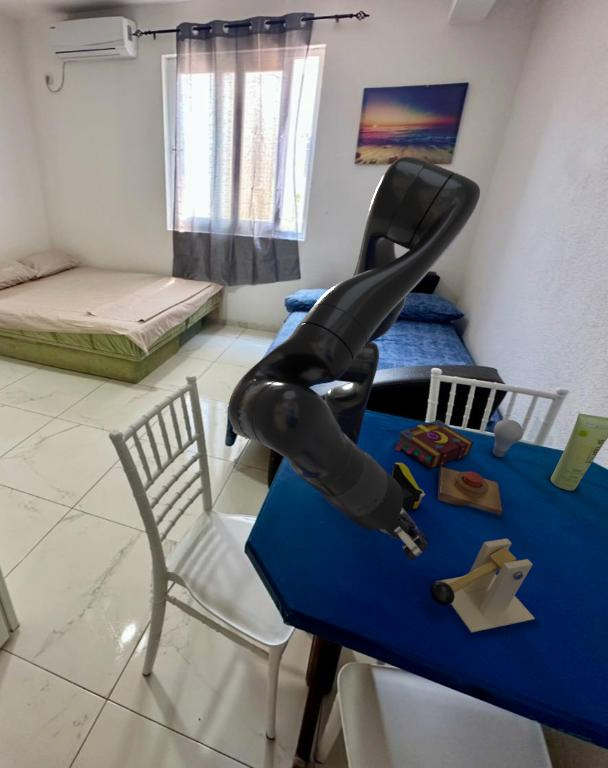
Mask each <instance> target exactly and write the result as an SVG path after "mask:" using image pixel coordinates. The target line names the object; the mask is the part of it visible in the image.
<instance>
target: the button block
mask: <svg viewBox="0 0 608 768" xmlns="http://www.w3.org/2000/svg"><path fill="white" fill-rule="evenodd" d="M466 472H467V471H458V470H455V469H451V468H447V467H444V466H440V467H439V470H438V474H437V500H438V501H441V502H444V503H447V504H451V505H453V506H457V507H465V506H469V507H472V508H474V509H475V508H476V509H478V510H481V511H485V512H488V513H491V514H495V515H498V516H501V515H502V513H503V507H502V500H501V495H500V490H499V483H498V481H494V480H490V479H487V478H483V482H482V484H481V486H480V487H479V488H474V487H471V486H468V485H467V484H465V483H464V482H463V478H464V475H465V473H466Z"/></svg>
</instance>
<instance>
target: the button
mask: <svg viewBox="0 0 608 768" xmlns="http://www.w3.org/2000/svg"><path fill="white" fill-rule="evenodd" d="M465 472H466V473H465V475H464V478H463V482H464V483H465V484H467V485H468V486H471V487H474V488H479V487H480V486H481V484H482V482H483V479H484V478H483V476H482V475H480V474H479V473H478V472H475V471H465Z"/></svg>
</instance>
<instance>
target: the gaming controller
mask: <svg viewBox="0 0 608 768" xmlns="http://www.w3.org/2000/svg"><path fill="white" fill-rule="evenodd" d="M391 476H392V477H393V478H394V479H395V480H396V481H397V482H398V484H399V485H400V487H401V489H402V492H403V506H402V507H403V508H404V510H405V511H406V512H409V511H410V510H413V509H418V507H419V506H420V504H421V502H422V501H423V500H422V499H423V497H424V496H426V493H425V492H424V490H423V489H421V488H420V487H419V486H418V483H417V482H416V480H415V478H414V476H413V474H412V473H411V471H410V468H409V467H408V466H407V465H406V464H404V463H403V462H395V463H394V464H393V466H392V474H391Z"/></svg>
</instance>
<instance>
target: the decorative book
mask: <svg viewBox="0 0 608 768" xmlns="http://www.w3.org/2000/svg"><path fill="white" fill-rule="evenodd" d="M398 436H400V438H399V441H396V442H395V443H394V444H395V448H394V450H396V451H398V452H400V451H401V450H402V451H404V452H405V453H407V454H408V455H410V456H412V457H413V458H414V459H416V460H417V461H419V462H420V463H421V464H423V465H424V466H426V467H427V468H429V469H433V468H435V467H438V468H441V467H444V466H445V464H446V463H449V462H452V461H454V460H456V461H458V460H461V459H463V457H465V456H467V455H469V454H470V452H471V450H472V449H473V445H474V441H473V440H472V439H469V438H468V437H467V436H464V435H463V434H461V433H459V432H458V431H456V430H454V429H453V428H451V426H449V425H447V424H446V423H445V422H443V421H442V420H439V419H436V420H433V421H430V422H428V423H427V424H418V425H416V427H414V428H411V429H410V428H408V429H405V430H400V431H399V432H398Z"/></svg>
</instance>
